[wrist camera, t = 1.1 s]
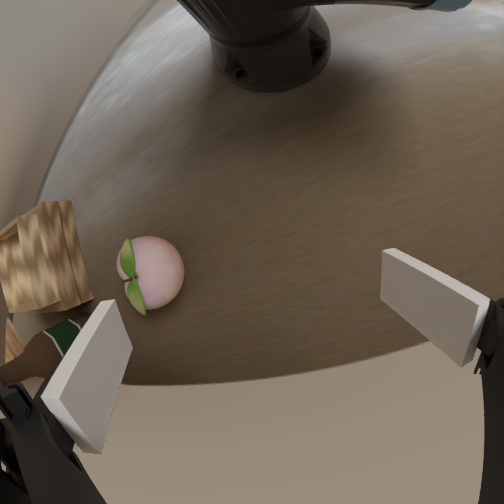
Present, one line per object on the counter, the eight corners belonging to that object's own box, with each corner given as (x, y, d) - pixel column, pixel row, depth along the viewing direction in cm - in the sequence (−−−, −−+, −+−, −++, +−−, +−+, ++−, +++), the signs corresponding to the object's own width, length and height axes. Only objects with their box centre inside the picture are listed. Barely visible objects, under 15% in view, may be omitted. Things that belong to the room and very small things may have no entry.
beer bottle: (97, 310, 44) (-11, 362, 21) (111, 350, 45) (13, 412, 22) (74, 311, 46) (-23, 355, 24) (86, 348, 47) (-3, 400, 24)
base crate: (33, 224, 47) (8, 228, 40) (71, 200, 42) (40, 202, 36) (52, 305, 49) (28, 314, 42) (93, 298, 44) (65, 310, 37)
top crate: (10, 235, 40) (-8, 238, 36) (40, 213, 36) (17, 215, 31) (27, 306, 42) (9, 313, 37) (60, 300, 37) (38, 309, 33)
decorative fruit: (209, 287, 37) (169, 313, 28) (162, 301, 40) (118, 326, 30) (184, 220, 36) (137, 226, 27) (140, 240, 39) (91, 251, 29)
